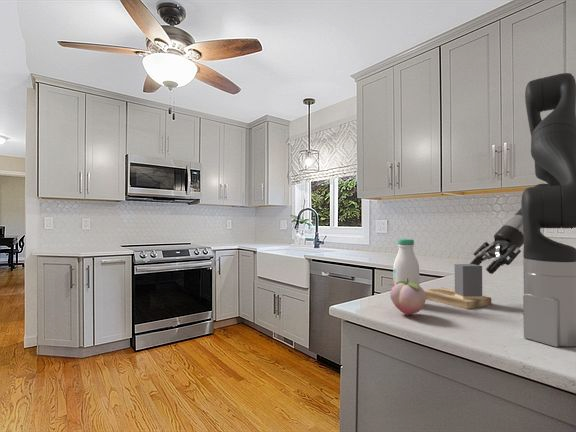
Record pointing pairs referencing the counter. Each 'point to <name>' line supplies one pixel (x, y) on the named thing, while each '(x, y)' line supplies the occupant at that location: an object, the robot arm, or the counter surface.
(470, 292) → the block
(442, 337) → the counter surface
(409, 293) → the decorative fruit
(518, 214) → the robot arm
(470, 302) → the oak board
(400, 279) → the milk bottle
